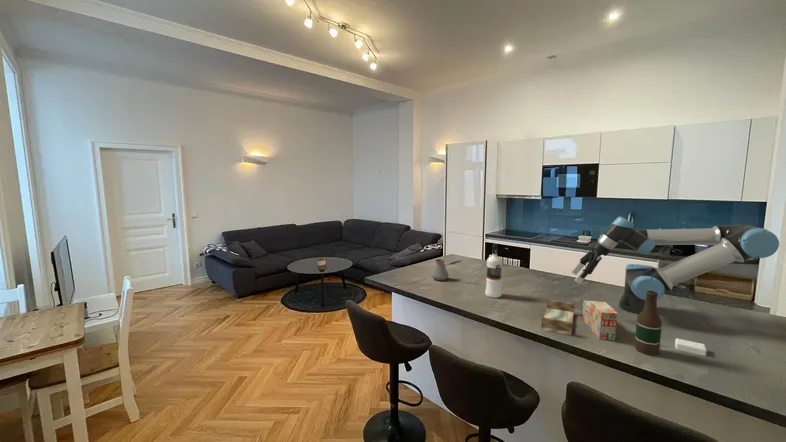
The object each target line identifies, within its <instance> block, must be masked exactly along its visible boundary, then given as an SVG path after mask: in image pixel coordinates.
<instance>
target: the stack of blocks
mask: <svg viewBox="0 0 786 442" xmlns="http://www.w3.org/2000/svg"><path fill="white" fill-rule="evenodd" d="M618 315H619V313H618V312H617V311H616V309H614V308H613V307H612V306H611V305H610V304H608V303H607V302H605V301H597V300H583V301H582V316H581V317H582V320H583V321H584V322H585V324H586V325H587V326H588V327H589V328H590V330H591V331H592V332H593V333H594V335H595V336H596V337H597V339H598V340H602V341H614V342H615V341H616V337H617V334H616V333H617V327H618V317H619V316H618Z"/></svg>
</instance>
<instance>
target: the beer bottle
mask: <svg viewBox="0 0 786 442" xmlns="http://www.w3.org/2000/svg"><path fill="white" fill-rule="evenodd" d="M646 294H647V295H646V300H645V306H644V309H643V311H642V312H641V313H640V314H639V313H638V315H637V319H636V325H635V337H634V348H635V350H636V351H637V352H639V353H641V354H644V355H648V356H653V355H654V356H656V355H658V354H659V353H660V346H661V336H662V327H663V325H662V323H663V322H662V319H661V317H660V315H659V314H658V310H657V309H658V307H657V306H658V305H657V304H658V303H657V302H658V300H657V296H658V293H657V292H654V291H646Z"/></svg>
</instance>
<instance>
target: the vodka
mask: <svg viewBox="0 0 786 442" xmlns="http://www.w3.org/2000/svg"><path fill="white" fill-rule="evenodd" d="M491 252H492V254H491V256H489V257H487V259H486V284H485V285H486V286H485V291H484V294H485V296H487V297H488V298H493V299H497V298H501V297H502V296H503V291H502V279H503V278H502V268H503V260H502V258H500V257H499V256H498V244H494V243H493V244H492V251H491Z"/></svg>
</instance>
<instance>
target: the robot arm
mask: <svg viewBox="0 0 786 442" xmlns="http://www.w3.org/2000/svg"><path fill="white" fill-rule="evenodd" d="M634 226H635V224H634V223H632V222H631V221H629V220H628V219H626V218H625V217H623V216H618V217H616V218H615V219H614V220H613V222H611V224H610V225H609V226H608V227H607V229H606V230H604V232H603V233H602V234H600V235H599V238H598V239H597V241H595V242H594V243H593V244H592V246H591V249H590V250H589V251H588V252H587V253H586V254H585V255H583V256H582V257H581V258H580V259H579V262H578V263H577V265H576V266H575V267H574V268H573V269H572V270H571V271H570V272H571V273H572V274H573V275H574V276H576V277H575V279H574V282H575V283H577V284H579V285H580V284H581V283H582V282H583V281H584V279H586V278H587V276H589V275H592V273H593V272H594V270H595V269H596V268H597V266H598V264H599V263H600V262H601V261H602V259H603V257H602V256H604V257H605V256H606V257H607V256H608V255H609V254H610V252H611V250H613V249H614V248H616V246H617V245H618V244H619V243H620V241H621V242H622V243H624V244H625V245H627V246H629V247H630V248H632V249H633V250H635V251H637V252H638V253H641V254H642V255H648V254H649V253H650V252H651V251H652V250H653V249H654V248H655V247H656V246H657V245H658V246H659V245H660V246H661V245H662V246H663V245H664V246H665V245H666V246H667V245H673V246H675V245H676V246H677V245H678V246H679V245H688V246H689V245H692V246H693V245H695V246H696V245H699V246H700V245H701V246H702V245H704V246H705V245H706V246H707V245H708V246H709V245H713V246H711V247H708V248H706V249H704V250H700V251H698V252H696V253H694V254H692V255H690V256H687V257H684V258H682V259H679V260H677V261H675V262H673V263H670V264H668V265H666V266H663V267H654V266H652V265H647V264H638V263H628V264H626V267H625V277H624V289H623V293H622V295H621V297H620V299H619V300H618V301H619V302H618V306H619V307H620V308H621V309H622V310H623V311H624V310H625V311H626V312H630V313H635V314H638V315H639V314H640V313H641V312H642V311H643V309H644V306H645V300H646V295H647V294H646V291H654V292H657V293H658V296H657V301H658V300H659V299H661V298H662V297H664V294H666V293H667V292H670V291H673V290H672V289H673V287H674V286H675V285H678V284H681V283H683V282H685V281H688V280H690V279H693V278H696V277H698V276H700V275H703V274H705V273H708V272H711V271H713V270H717V269H718V268H720V267H723V266H726V265H728V264H730V263H731V264H732V263H734V262H739V263H744V262H747V261H749V260H752V259H764V258H765V259H766V258H769V257H770V256H773V255H774V254H775V253H776V252H777V251H778V249H779V247H780V241H779V238H778V236H777V235H776V234H775V233H773V232H772V231H769V230H768V229H766V228H762V227H757V226H753V225H750V224H729V225H714V226H713V227H711V228H710V227H708V228H669V229H668V228H665V229H663V228H662V229H660V228H659V229H636V228H634ZM585 266H586V267H585ZM584 267H585V269H583V268H584ZM581 270H582V271H581ZM580 271H581V272H580ZM578 273H579V274H578ZM577 275H578V276H577Z"/></svg>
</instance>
